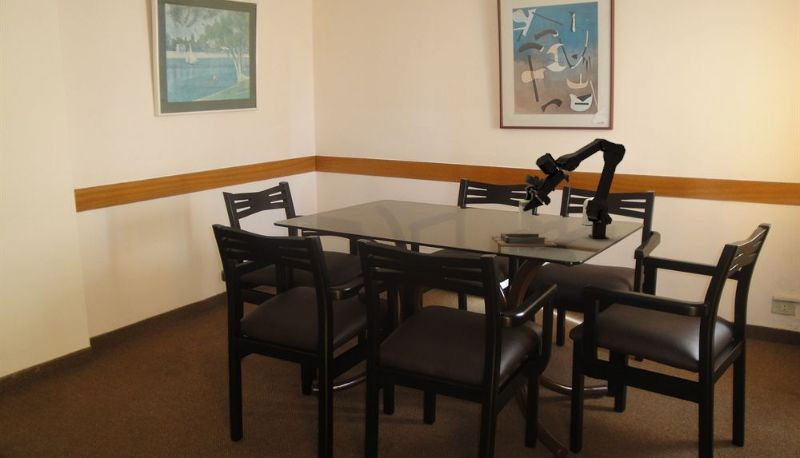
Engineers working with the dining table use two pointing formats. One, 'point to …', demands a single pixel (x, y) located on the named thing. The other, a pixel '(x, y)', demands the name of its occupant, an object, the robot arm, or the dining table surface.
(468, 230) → the dining table surface
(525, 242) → the brown flat board
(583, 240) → the dining table surface
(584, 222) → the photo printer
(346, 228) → the dining table surface
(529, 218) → the cream square-faced block
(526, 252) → the dining table surface
